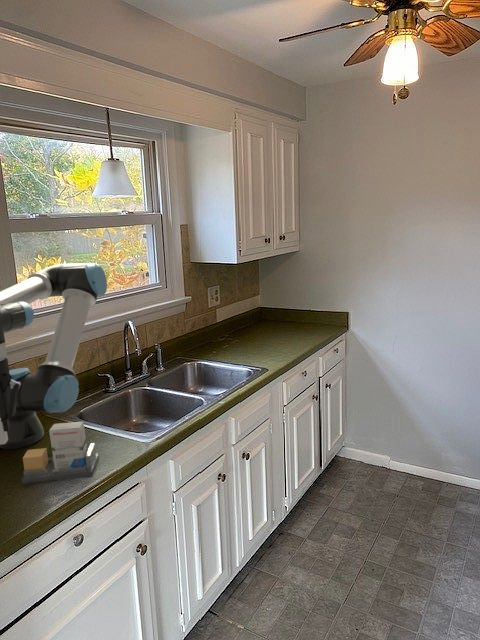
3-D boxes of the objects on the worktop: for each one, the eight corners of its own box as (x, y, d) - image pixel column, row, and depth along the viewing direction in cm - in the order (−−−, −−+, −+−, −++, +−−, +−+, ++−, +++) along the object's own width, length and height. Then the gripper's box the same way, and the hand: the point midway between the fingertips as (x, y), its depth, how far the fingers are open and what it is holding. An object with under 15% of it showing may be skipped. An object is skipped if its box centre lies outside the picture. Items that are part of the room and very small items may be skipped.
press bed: (34, 464, 142) (31, 447, 140) (98, 458, 144) (96, 440, 143) (22, 483, 131) (19, 465, 130) (92, 476, 133) (90, 458, 132)
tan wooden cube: (30, 464, 138) (28, 449, 137) (48, 462, 139) (46, 448, 138) (24, 473, 133) (22, 457, 133) (43, 471, 134) (41, 456, 133)
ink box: (89, 458, 140) (84, 420, 138) (85, 467, 135) (80, 427, 133) (58, 461, 139) (53, 422, 137) (53, 469, 134) (48, 429, 132)
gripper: (-41, 365, 125) (-27, 450, 129) (12, 361, 126) (24, 445, 130) (-29, 357, 132) (-16, 438, 136) (21, 354, 133) (32, 434, 138)
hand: (3, 442), depth 133 cm, fingers closed
